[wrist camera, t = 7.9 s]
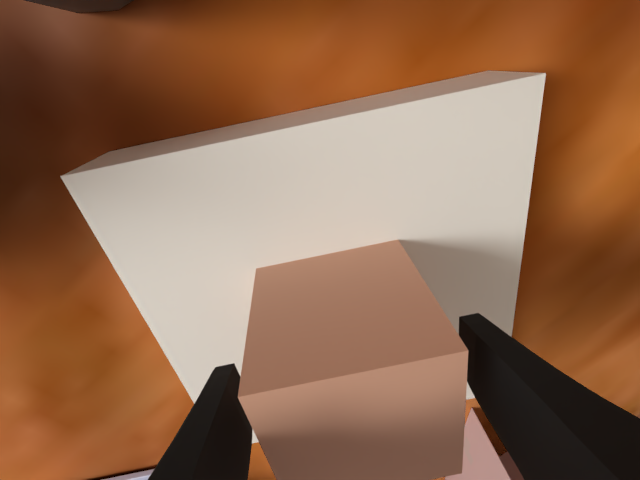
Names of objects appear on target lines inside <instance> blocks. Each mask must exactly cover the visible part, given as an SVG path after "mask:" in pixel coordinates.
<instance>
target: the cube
mask: <svg viewBox="0 0 640 480" xmlns="http://www.w3.org/2000/svg"><path fill="white" fill-rule="evenodd" d="M467 369H468V349H467V347H466V346H465V344H464V343H463V341H462V340H461V338H460V336H459V335H458V333H457V332H456V330H455V328H454V327H453V325H452V324H451V322H450V321H449V319H448V317H447V316H446V314H445V313H444V311H443V310H442V308H441V306H440V305H439V303H438V302H437V300H436V298H435V297H434V295H433V294H432V292H431V291H430V289H429V287H428V286H427V284H426V283H425V281H424V279H423V278H422V276H421V275H420V273H419V272H418V270H417V268H416V267H415V265H414V264H413V262H412V261H411V259H410V257H409V256H408V254H407V253H406V251H405V249H404V248H403V246H402V245H401V243H400V242H399V240H393V241H388V242H383V243H378V244H374V245H369V246H364V247H359V248H354V249H349V250H344V251H339V252H335V253H330V254H325V255H320V256H315V257H310V258H305V259H300V260H295V261H291V262H286V263H281V264H276V265H271V266H266V267H261V268H256V273H255V280H254V287H253V293H252V300H251V307H250V314H249V321H248V328H247V335H246V342H245V349H244V356H243V363H242V370H241V377H240V384H239V391H238V399H239V401H240V403H241V405H242V407H243V410H244V412H245V414H246V416H247V418H248V420H249V422H250V424H251V426H252V429H253V431H254V433H255V435H256V437H257V439H258V441H259V443H260V445H261V448H262V450H263V452H264V454H265V456H266V458H267V460H268V462H269V464H270V466H271V469H272V471H273V473H274V475H275V477H276V479H277V480H431V479H436V478H441V477H446V476H451V475H456V474H461V473H462V466H463V447H464V427H465V408H466V388H467Z"/></svg>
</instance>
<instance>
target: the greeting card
mask: <svg viewBox="0 0 640 480" xmlns="http://www.w3.org/2000/svg"><path fill="white" fill-rule="evenodd" d="M445 480H524V478H523V476H522V475H521V473H520V471H519V469H518V468H517V466H516V464H515V463H514V461H513V459H512V458H511V456H510V454H509V453H508V451H507V452H506V453H504V454H503V455H501V456H500V457H499V456H498V454H497V452H496V451H495V449H494V447H493V445H492V443H491V441H490V440H489V438H488V436H487V434H486V432H485V430H484V428H483V427H482V425H481V423H480V421H479V419H478V417H477V416H476V414H475V412H474V410H473V408H471V411H470V413H469V416H468V419H467V421H466V424H465V427H464V447H463V466H462V473H461V474H456V475H451V476H446V477H445Z"/></svg>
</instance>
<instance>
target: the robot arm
mask: <svg viewBox="0 0 640 480" xmlns="http://www.w3.org/2000/svg"><path fill="white" fill-rule="evenodd" d="M459 336H460V338H461V340H462V341H463V343H464V344H465V346H466V347H467V349H468V369H467V382H468V384H469V387H470V389H471V391H472V393H473V395H474V396H475V398H476V400H477V401H478V403H479V405H480V406H481V408H482V410H483V411H484V413H485V415H486V416H487V418H488V420H489V421H490V423H491V425H492V426H493V428H494V430H495V431H496V433H497V435H498V436H499V438H500V440H501V441H502V443H503V444H504V446H505V448H506V449H507V451H508V453H509V454H510V456H511V458H512V459H513V461H514V463H515V464H516V466H517V468H518V469H519V471H520V473H521V475H522V476H523V478H524V480H640V419H639V418H638V417H636V416H634V415H632V414H631V413H629V412H627V411H625V410H623V409H622V408H620V407H618V406H616V405H615V404H613V403H611V402H609V401H607V400H606V399H604V398H602V397H601V396H599V395H597V394H596V393H594V392H592V391H591V390H589V389H588V388H586V387H584V386H583V385H581V384H580V383H578V382H577V381H575V380H573V379H572V378H570V377H569V376H567V375H566V374H564V373H563V372H561V371H559V370H558V369H556V368H555V367H553V366H552V365H551V364H549V363H548V362H546V361H545V360H543V359H542V358H540V357H539V356H537V355H536V354H535V353H533V352H532V351H530V350H529V349H527V348H526V347H525V346H523V345H522V344H520V343H519V342H518V341H516V340H515V339H514V338H512V337H511V336H509V335H508V334H507V333H505V332H504V331H503V330H501V329H500V328H499V327H497V326H496V325H495V324H493V323H492V322H490V321H489V320H488V319H486V318H485V317H484V316H482V315H481V314H479V313H475V314H470V315H465V316H460V317H459ZM239 384H240V375H239V373H238V370H237V368H236V366H235V364H234V363H233V364H228V365H223V366H218V367H215V368H214V370H213V371H212V373H211V375H210V377H209V379H208V380H207V382H206V384H205V386H204V388H203V389H202V391H201V393H200V395H199V397H198V398H197V400H196V402H195V404H194V405H193V407H192V409H191V411H190V412H189V414H188V416H187V417H186V419H185V421H184V423H183V424H182V426H181V428H180V429H179V431H178V433H177V434H176V436H175V438H174V439H173V441H172V443H171V444H170V446H169V447H168V449H167V450H166V452H165V454H164V455H163V457H162V458H161V460H160V461H159V463H158V464H157V466H156V467H155V469H151V470H146V471H141V472H136V473H131V474H127V475H122V476H117V477H112V478H107V479H102V480H247V479H248V471H249V463H250V454H251V445H252V426H251V424H250V422H249V420H248V418H247V416H246V414H245V412H244V410H243V407H242V405H241V403H240V401H239V399H238V391H239Z"/></svg>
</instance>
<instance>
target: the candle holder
mask: <svg viewBox="0 0 640 480" xmlns="http://www.w3.org/2000/svg"><path fill="white" fill-rule="evenodd" d="M25 1H29V2H34V3H38V4H42V5H46V6H51V7H55V8H59V9H63V10H68V11H72V12H76V13H83V12H98V11H114V10H119V9H121V8H122V7H124V6H125V5H127V4H129V3H130V2H132V1H133V0H25Z"/></svg>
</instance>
